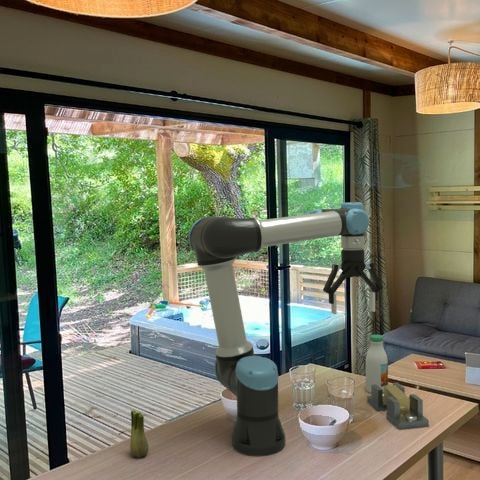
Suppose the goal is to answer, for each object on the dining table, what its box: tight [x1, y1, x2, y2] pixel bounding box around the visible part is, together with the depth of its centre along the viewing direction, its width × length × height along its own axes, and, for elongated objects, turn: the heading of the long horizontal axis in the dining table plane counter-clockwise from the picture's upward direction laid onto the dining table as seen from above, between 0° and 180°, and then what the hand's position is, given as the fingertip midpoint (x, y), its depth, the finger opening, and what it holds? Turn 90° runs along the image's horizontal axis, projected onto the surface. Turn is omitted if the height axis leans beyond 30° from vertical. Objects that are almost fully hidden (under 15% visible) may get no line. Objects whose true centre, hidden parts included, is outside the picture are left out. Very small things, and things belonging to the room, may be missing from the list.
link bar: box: [384, 384, 410, 415], centre depth 162 cm, size 12×4×5 cm, turn 3°
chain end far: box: [366, 382, 406, 412], centre depth 169 cm, size 10×8×7 cm
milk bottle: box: [365, 334, 389, 394], centre depth 182 cm, size 8×8×20 cm
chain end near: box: [385, 393, 430, 431], centre depth 155 cm, size 10×8×7 cm
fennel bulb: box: [129, 409, 149, 458], centre depth 139 cm, size 6×5×12 cm
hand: (353, 312), depth 171 cm, fingers open, 13 cm apart
